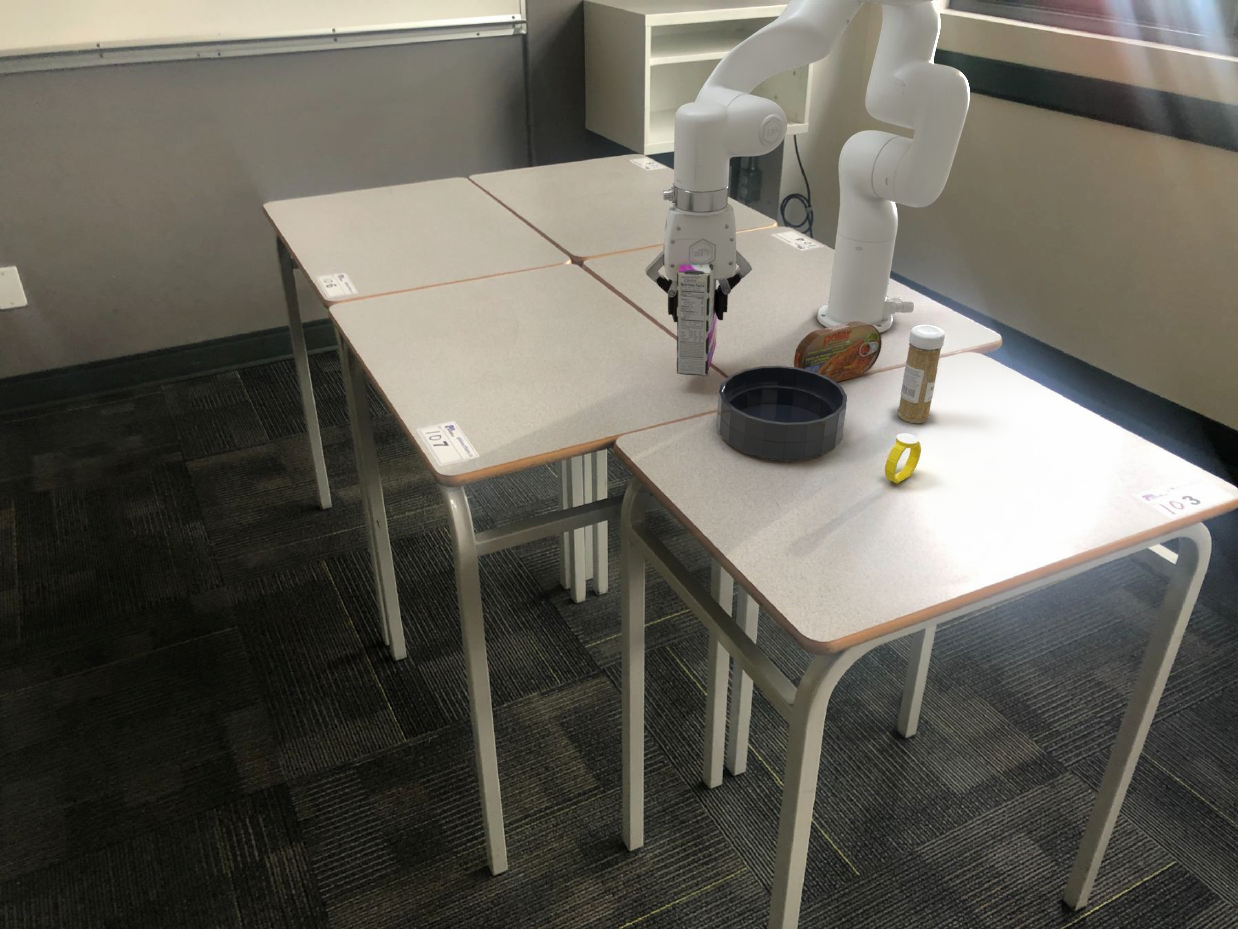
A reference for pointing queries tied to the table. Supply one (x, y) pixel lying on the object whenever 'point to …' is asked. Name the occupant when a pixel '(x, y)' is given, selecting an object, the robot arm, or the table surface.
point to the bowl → (781, 412)
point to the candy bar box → (696, 319)
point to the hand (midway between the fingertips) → (697, 316)
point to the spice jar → (920, 373)
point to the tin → (840, 350)
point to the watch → (895, 454)
